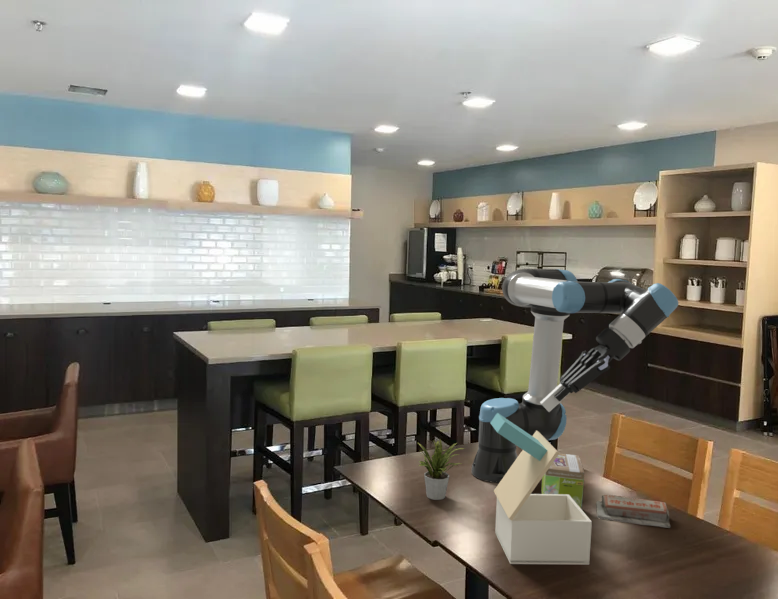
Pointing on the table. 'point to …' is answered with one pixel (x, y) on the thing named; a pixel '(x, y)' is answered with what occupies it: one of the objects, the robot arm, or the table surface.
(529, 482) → the teal slab on tray
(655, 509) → the packaged product
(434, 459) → the house plant
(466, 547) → the table surface
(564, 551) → the carton
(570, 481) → the tea box
